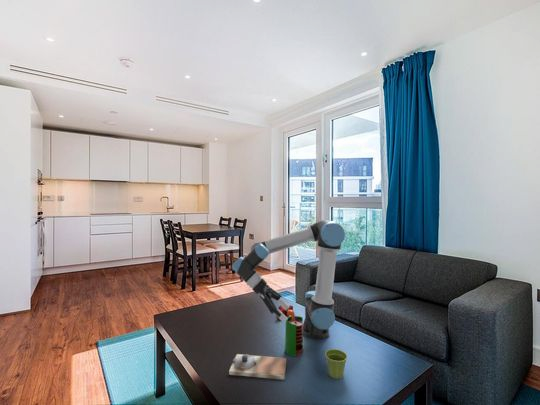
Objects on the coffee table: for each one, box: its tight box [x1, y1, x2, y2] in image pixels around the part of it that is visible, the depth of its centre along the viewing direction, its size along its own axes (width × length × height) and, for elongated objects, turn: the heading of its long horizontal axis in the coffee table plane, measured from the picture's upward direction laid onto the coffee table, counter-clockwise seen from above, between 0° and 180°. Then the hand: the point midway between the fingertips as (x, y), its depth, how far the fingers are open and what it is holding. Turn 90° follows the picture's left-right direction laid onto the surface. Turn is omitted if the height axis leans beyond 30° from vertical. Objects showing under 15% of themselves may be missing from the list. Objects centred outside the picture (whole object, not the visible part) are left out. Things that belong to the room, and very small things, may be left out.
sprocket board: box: [228, 353, 287, 380], centre depth 125 cm, size 24×13×4 cm, turn 82°
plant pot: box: [324, 348, 348, 380], centre depth 120 cm, size 9×9×9 cm
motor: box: [284, 309, 304, 357], centre depth 138 cm, size 10×9×20 cm
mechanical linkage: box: [276, 304, 294, 321], centre depth 179 cm, size 16×7×5 cm, turn 154°
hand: (286, 314), depth 138 cm, fingers open, 13 cm apart
